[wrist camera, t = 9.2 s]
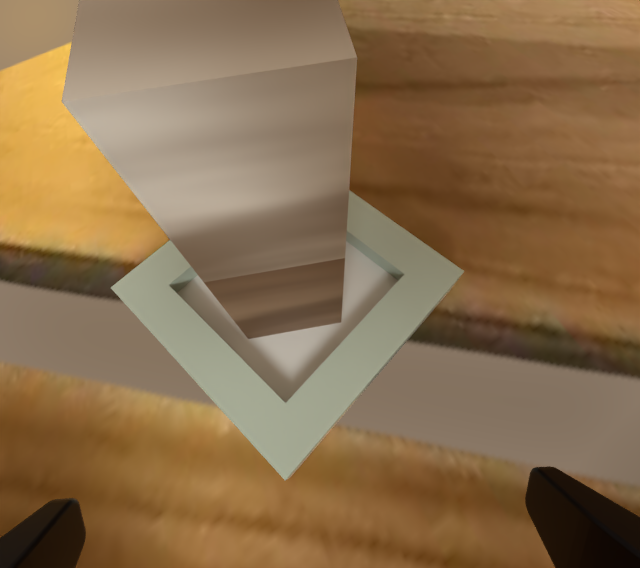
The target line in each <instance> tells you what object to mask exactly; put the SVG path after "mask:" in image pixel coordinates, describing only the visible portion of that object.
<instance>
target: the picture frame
mask: <svg viewBox="0 0 640 568" xmlns="http://www.w3.org/2000/svg"><path fill="white" fill-rule="evenodd" d="M463 273H464V271H463V270H462V269H460V268H459V267H458V266H456V265H455V264H453V263H452V262H451V261H449V260H448V259H446V258H445V257H443V256H442V255H441V254H439V253H438V252H436V251H435V250H433V249H432V248H431V247H429V246H428V245H426V244H425V243H424V242H422V241H421V240H419V239H418V238H416V237H415V236H414V235H412V234H411V233H409V232H408V231H407V230H405V229H404V228H402V227H401V226H399V225H398V224H397V223H395V222H394V221H392V220H391V219H390V218H388V217H387V216H385V215H384V214H382V213H381V212H380V211H378V210H377V209H375V208H374V207H373V206H371V205H370V204H368V203H367V202H365V201H364V200H363V199H361V198H360V197H358V196H357V195H356V194H354V193H353V192H351V191H350V190H349V201H348V218H347V235H346V252H345V268H344V285H343V302H342V318H341V323H335V324H330V325H324V326H319V327H313V328H308V329H302V330H296V331H291V332H285V333H280V334H274V335H269V336H263V337H257V338H252V339H248V338H247V337H246V336H245V334H244V333H243V332H242V331H241V329H240V328H239V327H238V325H237V324H236V323H235V322H234V320H233V319H232V318H231V317H230V315H229V314H228V313H227V311H226V310H225V309H224V308H223V306H222V305H221V304H220V303H219V301H218V300H217V299H216V297H215V296H214V295H213V294H212V292H211V291H210V290H209V289H208V287H207V286H206V285H205V283H204V282H203V281H202V280H201V278H200V277H199V276H198V275H197V273H196V272H195V271H194V269H193V268H192V267H191V266H190V264H189V263H188V262H187V261H186V259H185V258H184V257H183V255H182V254H181V253H180V252H179V250H178V249H177V248H176V247H175V245H174V244H173V243H172V241H171V240H169V241H168V242H167V243H166V244H164V245H163V246H162V247H161V248H159V249H158V250H157V251H156V252H154V253H153V254H152V255H151V256H149V257H148V258H147V259H146V260H144V261H143V262H142V263H141V264H139V265H138V266H137V267H136V268H135V269H133V270H132V271H131V272H130V273H128V274H127V275H126V276H125V277H123V278H122V279H121V280H120V281H118V282H117V283H116V284H115V285H113V286H112V287H111V289H112V290H113V291H114V292H115V293H116V294H117V295H118V296H119V298H120V299H121V300H122V301H123V302H124V303H125V304H126V305H127V306H128V307H129V309H130V310H131V311H132V312H133V313H134V314H135V315H136V316H137V317H138V319H139V320H140V321H141V322H142V323H143V324H144V325H145V326H146V327H147V328H148V329H149V331H150V332H151V333H152V334H153V335H154V336H155V337H156V338H157V339H158V340H159V342H160V343H161V344H162V345H163V346H164V347H165V348H166V349H167V351H168V352H169V353H170V354H171V355H172V356H173V357H174V358H175V359H176V360H177V362H178V363H179V364H180V365H181V366H182V367H183V368H184V369H185V370H186V372H187V373H188V374H189V375H190V376H191V377H192V378H193V379H194V380H195V381H196V382H197V384H198V385H199V386H200V387H201V388H202V389H203V390H204V391H205V392H206V393H207V395H208V396H209V397H210V398H211V399H212V400H213V401H214V402H215V404H216V405H217V406H218V407H219V408H220V409H221V410H222V411H223V412H224V413H225V415H226V416H227V417H228V418H229V419H230V420H231V421H232V422H233V423H234V425H235V426H236V427H237V428H238V429H239V430H240V431H241V432H242V433H243V434H244V436H245V437H246V438H247V439H248V440H249V441H250V442H251V443H252V444H253V446H254V447H255V448H256V449H257V450H258V451H259V452H260V453H261V454H262V455H263V457H264V458H265V459H266V460H267V461H268V462H269V463H270V464H271V465H272V467H273V468H274V469H275V470H276V471H277V472H278V473H279V474H280V475H281V476H282V478H283V479H284V480H287V479H288V478H290V477H291V476H292V475H293V474H294V473H295V471H296V470H297V469H298V468H299V467H300V466H301V464H302V463H303V462H304V461H305V460H306V459H307V457H308V456H309V455H310V454H311V453H312V452H313V450H314V449H315V448H316V447H317V446H318V445H319V443H320V442H321V441H322V440H323V439H324V437H325V436H326V435H327V434H328V433H329V432H330V430H331V429H332V428H333V427H334V426H335V425H336V423H337V422H338V421H339V420H340V419H341V418H342V416H343V415H344V414H345V413H346V412H347V410H348V409H349V408H350V407H351V406H352V405H353V404H354V402H355V401H356V400H357V399H358V397H359V396H360V395H361V394H362V393H363V392H364V391H365V389H366V388H367V387H368V386H369V385H370V383H371V382H372V381H373V380H374V379H375V378H376V377H377V375H378V374H379V373H380V372H381V371H382V370H383V368H384V367H385V366H386V365H387V364H388V362H389V361H390V360H391V359H392V358H393V357H394V355H395V354H396V353H397V352H398V351H399V350H400V348H401V347H402V346H403V345H404V344H405V343H406V341H407V340H408V339H409V338H410V337H411V336H412V334H413V333H414V332H415V331H416V330H417V329H418V327H419V326H420V325H421V324H422V323H423V321H424V320H425V319H426V318H427V317H428V316H429V314H430V313H431V312H432V311H433V310H434V309H435V307H436V306H437V305H438V304H439V303H440V302H441V300H442V299H443V298H444V297H445V296H446V295H447V293H448V292H449V291H450V290H451V289H452V287H453V286H454V285H455V283H456V282H457V281H458V279H459V278H460V277H461V275H462V274H463Z"/></svg>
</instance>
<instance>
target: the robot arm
mask: <svg viewBox="0 0 640 568" xmlns="http://www.w3.org/2000/svg"><path fill="white" fill-rule="evenodd" d="M525 503H526V507H527V510H528V513H529V515H530V517H531V519H532V521H533V523H534V525H535V527H536V529H537V531H538V533H539V535H540V537H541V539H542V541H543V544H544V546H545V548H546V550H547V552H548V554H549V556H550V558H551V560H552V562H553V564H554V566H555V568H640V517H639V516H637V515H635V514H634V513H632V512H630V511H628V510H627V509H625V508H623V507H622V506H620V505H618V504H616V503H615V502H613V501H611V500H610V499H608V498H606V497H604V496H603V495H601V494H599V493H598V492H596V491H594V490H593V489H591V488H589V487H587V486H586V485H584V484H582V483H581V482H579V481H577V480H575V479H574V478H572V477H570V476H569V475H567V474H565V473H563V472H562V471H560V470H558V469H556V468H554V467H536V468H533V469H532V470H531V472H530V476H529V482H528V487H527V492H526V497H525ZM85 536H86V531H85V526H84V522H83V517H82V513H81V509H80V505H79V502H78V501H77V500H76V499H74V498H69V499H55V500H52V501H50V502H48V503H47V504H45V505H44V506H43V507H41V508H40V509H39V510H37V511H36V512H35V513H33V514H32V515H31V516H29V517H28V518H27V519H25V520H24V521H22V522H21V523H20V524H18V525H17V526H16V527H14V528H13V529H12V530H10V531H9V532H8V533H6V534H5V535H4V536H2V537H1V538H0V568H75V567H76V564H77V561H78V559H79V556H80V554H81V551H82V548H83V545H84V542H85Z"/></svg>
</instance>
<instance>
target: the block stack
mask: <svg viewBox="0 0 640 568" xmlns="http://www.w3.org/2000/svg"><path fill="white" fill-rule="evenodd" d="M356 68H357V56H356V53H355V50H354V47H353V44H352V41H351V38H350V35H349V32H348V29H347V26H346V23H345V20H344V17H343V14H342V11H341V8H340V5H339V2H338V0H79V4H78V10H77V16H76V22H75V27H74V33H73V39H72V45H71V51H70V56H69V62H68V68H67V74H66V80H65V86H64V91H63V97H62V103H63V104H64V105H65V107H66V108H67V109H68V110H69V112H70V113H71V114H72V115H73V117H74V118H75V119H76V121H77V122H78V123H79V124H80V126H81V127H82V128H83V129H84V131H85V132H86V133H87V135H88V136H89V137H90V138H91V140H92V141H93V142H94V143H95V145H96V146H97V147H98V149H99V150H100V151H101V152H102V154H103V155H104V156H105V157H106V159H107V160H108V161H109V163H110V164H111V165H112V166H113V168H114V169H115V170H116V171H117V173H118V174H119V175H120V177H121V178H122V179H123V180H124V182H125V183H126V184H127V185H128V187H129V188H130V189H131V191H132V192H133V193H134V194H135V196H136V197H137V198H138V199H139V201H140V202H141V203H142V205H143V206H144V207H145V208H146V210H147V211H148V212H149V213H150V215H151V216H152V217H153V219H154V220H155V221H156V222H157V224H158V225H159V226H160V227H161V229H162V230H163V231H164V233H165V234H166V235H167V236H168V238H169V239H170V240H171V241H172V243H173V244H174V245H175V247H176V248H177V249H178V250H179V252H180V253H181V254H182V255H183V257H184V258H185V259H186V261H187V262H188V263H189V264H190V266H191V267H192V268H193V269H194V271H195V272H196V273H197V275H198V276H199V277H200V278H201V280H202V281H203V282H204V283H205V285H206V286H207V287H208V289H209V290H210V291H211V292H212V294H213V295H214V296H215V297H216V299H217V300H218V301H219V303H220V304H221V305H222V306H223V308H224V309H225V310H226V311H227V313H228V314H229V315H230V317H231V318H232V319H233V320H234V322H235V323H236V324H237V325H238V327H239V328H240V329H241V331H242V332H243V333H244V334H245V336H246V337H247V338H248V339H252V338H257V337H263V336H269V335H274V334H280V333H285V332H291V331H296V330H302V329H308V328H313V327H319V326H324V325H330V324H335V323H341V318H342V302H343V285H344V268H345V252H346V235H347V218H348V201H349V185H350V168H351V151H352V135H353V118H354V101H355V84H356Z"/></svg>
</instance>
